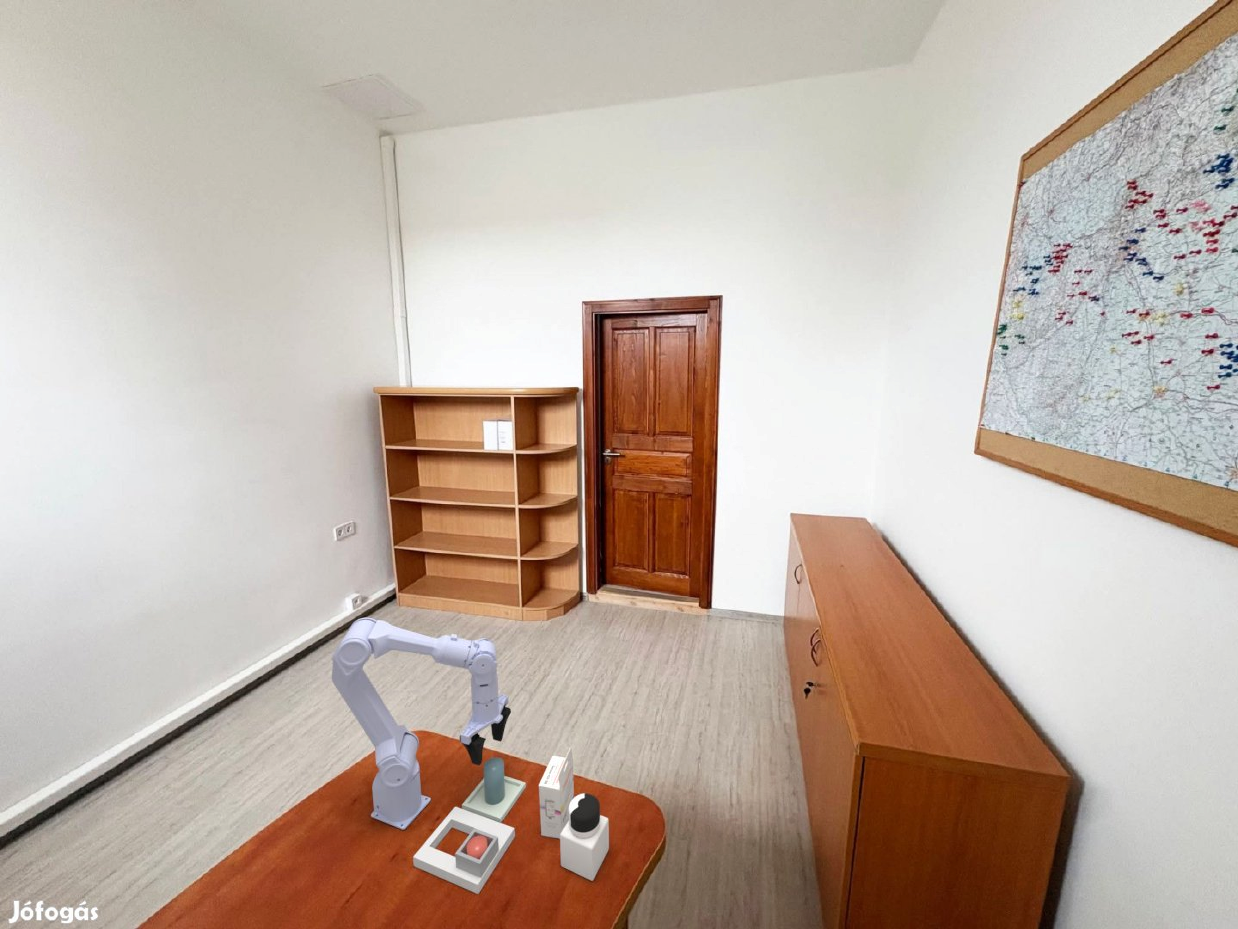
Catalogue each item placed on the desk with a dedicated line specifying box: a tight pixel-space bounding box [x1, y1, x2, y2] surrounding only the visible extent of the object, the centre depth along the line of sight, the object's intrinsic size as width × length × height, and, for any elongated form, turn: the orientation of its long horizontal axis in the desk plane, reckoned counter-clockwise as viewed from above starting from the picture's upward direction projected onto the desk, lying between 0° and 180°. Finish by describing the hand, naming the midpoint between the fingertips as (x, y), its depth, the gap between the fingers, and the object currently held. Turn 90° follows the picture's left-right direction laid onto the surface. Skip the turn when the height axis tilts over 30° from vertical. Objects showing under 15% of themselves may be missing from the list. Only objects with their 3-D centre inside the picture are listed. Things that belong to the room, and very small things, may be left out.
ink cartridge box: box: [538, 746, 575, 840], centre depth 98 cm, size 9×5×15 cm, turn 168°
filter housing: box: [412, 806, 516, 895], centre depth 92 cm, size 15×12×5 cm
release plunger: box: [467, 836, 488, 859], centre depth 89 cm, size 4×4×3 cm
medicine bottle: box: [559, 792, 610, 882], centre depth 90 cm, size 7×7×12 cm
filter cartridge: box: [483, 756, 505, 805], centre depth 104 cm, size 4×4×8 cm
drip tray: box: [461, 775, 527, 824], centre depth 105 cm, size 10×10×1 cm
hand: (487, 751), depth 105 cm, fingers open, 7 cm apart
